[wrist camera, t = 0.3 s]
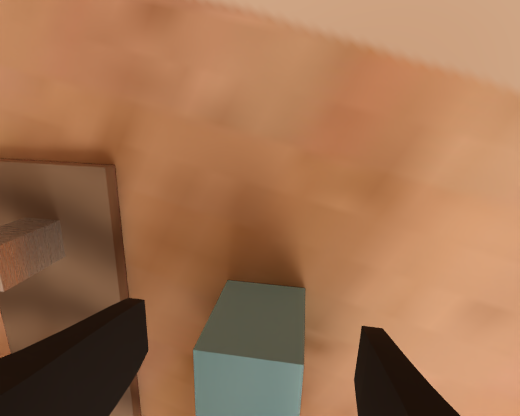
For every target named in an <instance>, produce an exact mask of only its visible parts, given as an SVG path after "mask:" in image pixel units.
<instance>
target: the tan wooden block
mask: <svg viewBox="0 0 520 416" xmlns="http://www.w3.org/2000/svg"><path fill="white" fill-rule="evenodd" d="M64 257H66V256H65V250H64V244H63V238H62V232H61V226H60V220H48V219H36V218H22V219H19V220H16V221H13V222H10V223H8V224H5V225H2V226H0V291H1V292H5V291H6V290H8V289H10V288H12V287H13V286H15V285H17V284H18V283H20V282H22V281H24V280H25V279H27V278H29V277H31V276H32V275H34V274H36V273H38V272H39V271H41V270H43V269H45V268H46V267H48V266H50V265H52V264H53V263H55V262H57V261H59V260H60V259H62V258H64Z"/></svg>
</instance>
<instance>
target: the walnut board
mask: <svg viewBox="0 0 520 416" xmlns="http://www.w3.org/2000/svg"><path fill="white" fill-rule="evenodd" d="M22 218H36V219H48V220H60V226H61V232H62V238H63V244H64V250H65V256H66V257H64V258H62V259H60V260H59V261H57V262H55V263H53V264H52V265H50V266H48V267H46V268H45V269H43V270H41V271H39V272H38V273H36V274H34V275H32V276H31V277H29V278H27V279H25V280H24V281H22V282H20V283H18V284H17V285H15V286H13V287H12V288H10V289H8V290H6V291H5V292H1V291H0V311H1V315H2V319H3V323H4V327H5V331H6V335H7V339H8V343H9V347H10V352H11V354H12V353H14V352H17V351H19V350H21V349H24V348H26V347H28V346H30V345H32V344H34V343H36V342H39V341H41V340H43V339H45V338H47V337H49V336H51V335H53V334H56V333H58V332H60V331H62V330H64V329H66V328H68V327H70V326H72V325H74V324H76V323H78V322H80V321H82V320H84V319H86V318H88V317H90V316H92V315H93V314H95V313H97V312H99V311H101V310H103V309H105V308H107V307H109V306H111V305H113V304H115V303H117V302H120V301H122V300H124V299H127V298H129V296H128V286H127V277H126V267H125V258H124V248H123V239H122V229H121V220H120V210H119V201H118V191H117V182H116V172H115V165H104V164H87V163H69V162H51V161H33V160H15V159H0V226H2V225H5V224H8V223H10V222H13V221H16V220H19V219H22ZM110 416H141V410H140V400H139V391H138V381H137V374H136V376H135V378H134V379H133V381H132V383H131V384H130V386H129V387H128V389H127V390H126V392H125V393H124V395H123V396H122V398H121V399H120V401H119V402H118V404H117V405H116V407H115V408H114V410H113V411H112V413H111V414H110Z"/></svg>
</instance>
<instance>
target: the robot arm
mask: <svg viewBox="0 0 520 416" xmlns="http://www.w3.org/2000/svg"><path fill="white" fill-rule="evenodd" d="M147 352H148V338H147V326H146V314H145V301H144V300H141V299H132V298H127V299H124V300H122V301H120V302H117V303H115V304H113V305H111V306H109V307H107V308H105V309H103V310H101V311H99V312H97V313H95V314H93V315H92V316H90V317H88V318H86V319H84V320H82V321H80V322H78V323H76V324H74V325H72V326H70V327H68V328H66V329H64V330H62V331H60V332H58V333H56V334H53V335H51V336H49V337H47V338H45V339H43V340H41V341H39V342H36V343H34V344H32V345H30V346H28V347H26V348H24V349H21V350H19V351H17V352H14V353H12V354H10V355H7V356H5V357H2V358H0V416H110V414H111V413H112V411H113V410H114V408H115V407H116V405H117V404H118V402H119V401H120V399H121V398H122V396H123V395H124V393H125V392H126V390H127V389H128V387H129V386H130V384H131V383H132V381H133V379H134V378H135V376H136V374H137V372H138V370H139V368H140V366H141V364H142V362H143V360H144V358H145V356H146V354H147ZM354 382H355V392H356V402H357V410H358V416H460V415H459V414H458V413H457V412H456V411H455V410H454V409H453V408H452V407H451V406H450V405H449V404H448V403H447V402H446V401H445V400H444V398H443V397H442V396H441V395H440V394H439V393H438V392H437V391H436V390H435V389H434V388H433V387H432V386H431V385H430V384H429V382H428V381H427V380H426V379H425V378H424V377H423V376H422V375H421V373H420V372H419V371H418V370H417V369H416V368H415V367H414V365H413V364H412V363H411V362H410V361H409V360H408V358H407V357H406V356H405V355H404V354H403V352H402V351H401V350H400V349H399V348H398V346H397V345H396V344H395V343H394V342H393V340H392V339H391V338H390V337H389V336H388V334H387V333H386V332H385V331H384V330H383V328H375V327H367V326H362V329H361V336H360V343H359V350H358V357H357V364H356V370H355V377H354Z"/></svg>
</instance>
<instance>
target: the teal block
mask: <svg viewBox="0 0 520 416" xmlns="http://www.w3.org/2000/svg"><path fill="white" fill-rule="evenodd" d="M304 334H305V288H299V287H289V286H280V285H270V284H261V283H251V282H241V281H232V280H227V282H226V285H225V287H224V289H223V291H222V293H221V295H220V297H219V299H218V301H217V303H216V305H215V307H214V309H213V311H212V313H211V315H210V317H209V319H208V321H207V323H206V325H205V327H204V329H203V331H202V333H201V335H200V337H199V339H198V341H197V343H196V345H195V347H194V349H193V360H194V386H195V411H196V416H300V405H301V393H302V382H303V370H304Z"/></svg>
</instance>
